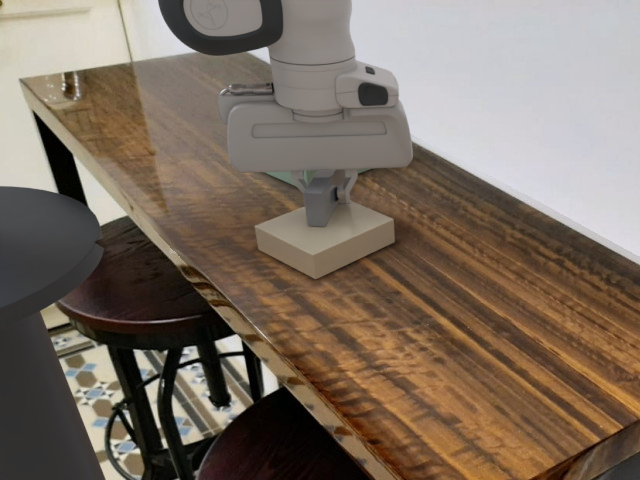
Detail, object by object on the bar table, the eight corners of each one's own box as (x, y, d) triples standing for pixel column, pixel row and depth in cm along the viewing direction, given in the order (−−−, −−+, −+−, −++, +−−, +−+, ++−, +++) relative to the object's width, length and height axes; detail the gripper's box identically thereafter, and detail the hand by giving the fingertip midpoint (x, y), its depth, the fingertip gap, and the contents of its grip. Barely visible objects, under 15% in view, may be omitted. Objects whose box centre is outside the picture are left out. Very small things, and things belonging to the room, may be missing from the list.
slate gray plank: (325, 227, 83) (321, 191, 81) (307, 226, 83) (303, 190, 81) (346, 187, 92) (343, 154, 90) (330, 186, 92) (327, 153, 90)
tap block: (315, 279, 80) (312, 255, 78) (258, 249, 85) (253, 225, 83) (395, 242, 88) (393, 218, 86) (338, 216, 92) (335, 193, 91)
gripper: (210, 93, 75) (234, 219, 83) (412, 89, 78) (415, 210, 87) (216, 75, 80) (238, 195, 88) (407, 72, 83) (410, 189, 92)
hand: (328, 203), depth 88 cm, fingers closed on slate gray plank, 2 cm apart
